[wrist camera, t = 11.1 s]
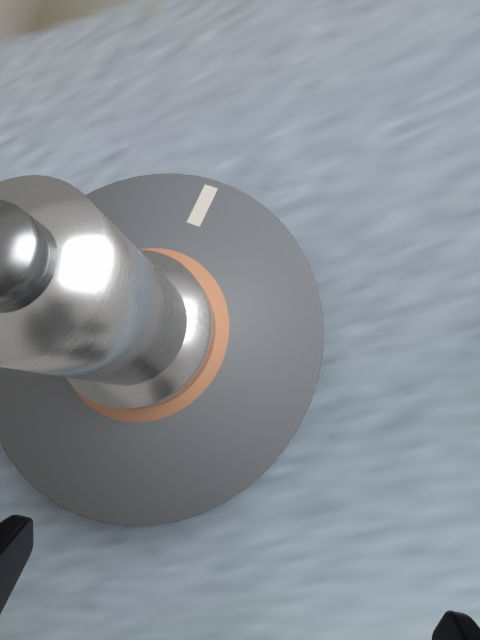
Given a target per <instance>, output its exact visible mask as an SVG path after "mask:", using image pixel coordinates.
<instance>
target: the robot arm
mask: <svg viewBox="0 0 480 640" xmlns="http://www.w3.org/2000/svg"><path fill="white" fill-rule="evenodd" d="M32 548H33V520H32V519H31V518H29V517H25V516H21V515H12V516H9V517H8V518H6V519H5V520H3V521H2V522H0V614H1V612H2V610H3V608H4V606H5V604H6V602H7V600H8V598H9V596H10V594H11V592H12V590H13V588H14V586H15V584H16V582H17V580H18V578H19V576H20V574H21V572H22V570H23V568H24V566H25V564H26V562H27V560H28V558H29V556H30V554H31V552H32ZM432 640H480V628H479V627H478V625H477V624H476V623H475V622H474V620H473V619H472V618H471V617H469V616H468V615H466V614H464V613H459V612H455V611H447V612H446V613H445V614H444V615H443V617H442V619H441V620H440V622H439V623H438V625H437V627H436V628H435V630H434V632H433V635H432Z"/></svg>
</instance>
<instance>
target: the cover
mask: <svg viewBox="0 0 480 640" xmlns="http://www.w3.org/2000/svg"><path fill="white" fill-rule="evenodd" d="M215 333H216V324H215V316H214V310H213V307H212V304H211V301H210V299H209V297H208V295H207V293H206V292H205V290H204V289H203V287H202V286H201V284H200V283H199V282H198V281H197V279H196V278H195V277H194V276H193V274H192V273H191V272H190V271H189V270H188V269H187V268H186V267H185V266H184V265H182V264H181V263H180V262H178V261H177V260H175V259H174V258H172V257H170V256H167V255H165V254H162V253H159V252H155V251H148V250H139V249H138V248H137V247H136V246H135V245H134V244H133V243H132V242H131V241H130V240H129V239H128V238H127V237H126V236H125V235H124V234H123V233H122V232H121V231H120V230H119V229H118V228H117V227H116V226H115V225H114V224H113V223H112V222H111V221H110V220H109V219H108V218H107V217H106V216H105V215H104V214H103V213H102V212H101V211H100V210H99V209H98V208H97V207H96V206H95V205H94V204H93V203H92V202H91V201H90V200H89V199H88V198H87V197H86V196H85V195H84V194H83V193H82V192H81V191H80V190H78V189H77V188H76V187H74V186H72V185H71V184H69V183H67V182H65V181H62V180H60V179H56V178H52V177H48V176H39V175H31V176H21V177H15V178H11V179H8V180H4V181H2V182H0V367H2V368H9V369H15V370H22V371H28V372H34V373H41V374H47V375H54V376H60V377H66V379H67V380H68V382H69V383H70V384H71V385H72V386H73V388H74V389H75V390H76V391H77V392H79V393H80V394H81V395H82V396H84V397H85V398H87V399H89V400H90V401H92V402H94V403H97V404H99V405H102V406H106V407H110V408H120V409H146V408H151V407H156V406H159V405H162V404H165V403H167V402H169V401H171V400H173V399H175V398H176V397H178V396H179V395H181V394H182V393H184V392H185V391H186V390H187V389H188V388H189V387H191V386H192V385H193V383H194V382H195V381H196V380H197V379H198V378H199V376H200V375H201V373H202V372H203V370H204V369H205V367H206V365H207V363H208V361H209V359H210V356H211V353H212V350H213V346H214V342H215Z"/></svg>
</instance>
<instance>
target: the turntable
mask: <svg viewBox="0 0 480 640" xmlns="http://www.w3.org/2000/svg"><path fill="white" fill-rule="evenodd" d="M85 196H86V197H87V198H88V199H89V200H90V201H91V202H92V203H93V204H94V205H95V206H96V207H97V208H98V209H99V210H100V211H101V212H102V213H103V214H104V215H105V216H106V217H107V218H108V219H109V220H110V221H111V222H112V223H113V224H114V225H115V226H116V227H117V228H118V229H119V230H120V231H121V232H122V233H123V234H124V235H125V236H126V237H127V238H128V239H129V240H130V241H131V242H132V243H133V244H134V245H135V246H136V247H137V248H138V249H139V250H148V251H155V252H159V253H162V254H165V255H167V256H170V257H172V258H174V259H175V260H177V261H178V262H180V263H181V264H182V265H184V266H185V267H186V268H187V269H188V270H189V271H190V272H191V273H192V274H193V276H194V277H195V278H196V279H197V281H198V282H199V283H200V284H201V286H202V287H203V289H204V290H205V292H206V293H207V295H208V297H209V299H210V301H211V304H212V307H213V310H214V316H215V324H216V333H215V342H214V346H213V350H212V353H211V356H210V359H209V361H208V363H207V365H206V367H205V369H204V370H203V372H202V373H201V375H200V376H199V378H198V379H197V380H196V381H195V382H194V383H193V385H192V386H191V387H189V388H188V389H187V390H186V391H185V392H184V393H182V394H181V395H179V396H178V397H176V398H175V399H173V400H171V401H169V402H167V403H165V404H162V405H159V406H156V407H151V408H146V409H120V408H110V407H106V406H102V405H99V404H97V403H94V402H92V401H90V400H89V399H87V398H85V397H84V396H82V395H81V394H80V393H79V392H77V391H76V390H75V389H74V388H73V386H72V385H71V384H70V383H69V382H68V380H67V379H66V377H60V376H54V375H47V374H41V373H34V372H28V371H22V370H15V369H9V368H2V367H0V442H1V444H2V446H3V448H4V449H5V451H6V453H7V455H8V457H9V458H10V460H11V461H12V462H13V463H14V465H15V466H16V467H17V469H18V470H19V471H20V473H21V474H22V475H23V476H24V477H25V478H26V479H27V480H28V481H29V482H30V483H31V484H32V485H33V486H34V487H35V488H36V489H37V490H38V491H39V492H41V493H42V494H44V495H45V496H46V497H48V498H49V499H51V500H52V501H54V502H55V503H56V504H58V505H60V506H62V507H64V508H66V509H68V510H70V511H72V512H74V513H76V514H78V515H80V516H84V517H87V518H90V519H93V520H96V521H100V522H104V523H111V524H117V525H124V526H152V525H158V524H165V523H171V522H177V521H180V520H183V519H186V518H189V517H193V516H196V515H199V514H202V513H204V512H206V511H208V510H210V509H212V508H214V507H216V506H218V505H220V504H223V503H225V502H226V501H228V500H229V499H231V498H232V497H234V496H235V495H237V494H238V493H240V492H241V491H243V490H244V489H246V488H247V487H248V486H249V485H250V484H252V483H253V482H254V481H255V480H256V479H257V478H258V477H259V476H261V475H262V474H263V473H264V472H265V471H266V470H267V469H268V468H269V467H270V466H271V465H272V463H273V462H274V461H275V460H276V459H277V458H278V456H279V455H280V454H281V453H282V452H283V451H284V449H285V448H286V446H287V445H288V443H289V442H290V440H291V439H292V437H293V436H294V434H295V432H296V431H297V429H298V428H299V426H300V424H301V422H302V420H303V418H304V415H305V413H306V411H307V409H308V407H309V405H310V403H311V400H312V396H313V393H314V390H315V387H316V384H317V381H318V377H319V371H320V366H321V360H322V354H323V332H324V326H323V316H322V307H321V301H320V297H319V293H318V289H317V284H316V281H315V278H314V276H313V273H312V271H311V268H310V266H309V263H308V261H307V259H306V257H305V255H304V253H303V252H302V250H301V248H300V246H299V245H298V243H297V241H296V240H295V238H294V237H293V236H292V235H291V233H290V232H289V231H288V229H287V228H286V227H285V226H284V224H283V223H282V222H281V221H280V220H279V219H278V218H277V217H276V216H275V215H274V214H273V213H271V212H270V211H269V210H268V209H267V208H266V207H264V206H263V205H262V204H260V203H259V202H258V201H256V200H255V199H253V198H252V197H251V196H249V195H247V194H245V193H243V192H241V191H239V190H237V189H236V188H234V187H231V186H229V185H226V184H223V183H221V182H218V181H215V180H212V179H207V178H203V177H199V176H193V175H184V174H152V175H145V176H138V177H133V178H129V179H125V180H122V181H118V182H115V183H112V184H110V185H107V186H104V187H102V188H99V189H97V190H95V191H93V192H91V193H89V194H87V195H85Z"/></svg>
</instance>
